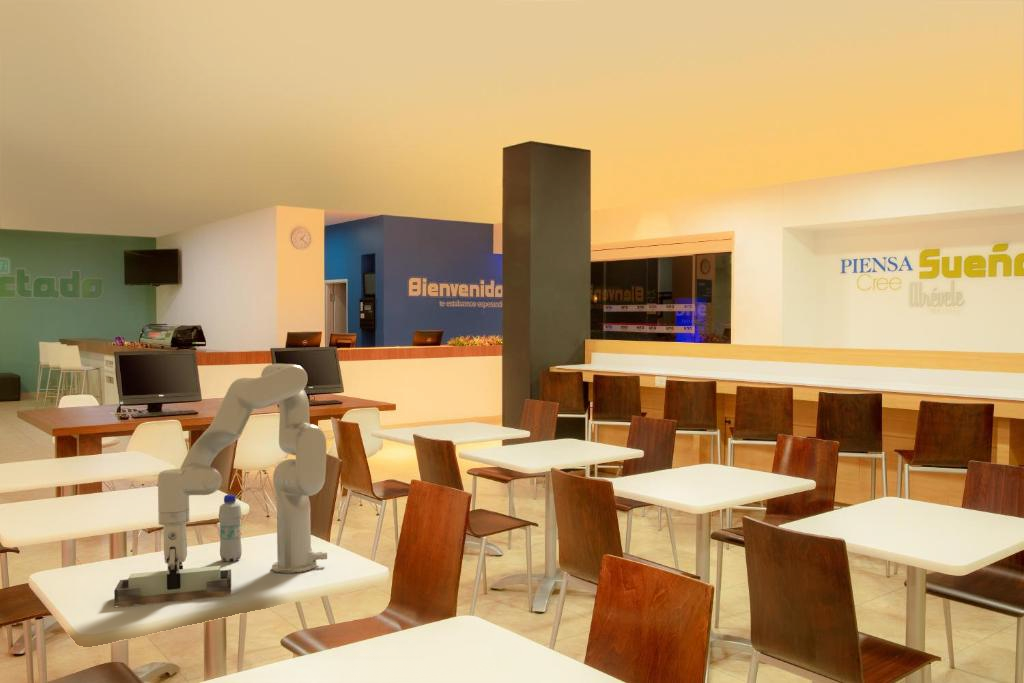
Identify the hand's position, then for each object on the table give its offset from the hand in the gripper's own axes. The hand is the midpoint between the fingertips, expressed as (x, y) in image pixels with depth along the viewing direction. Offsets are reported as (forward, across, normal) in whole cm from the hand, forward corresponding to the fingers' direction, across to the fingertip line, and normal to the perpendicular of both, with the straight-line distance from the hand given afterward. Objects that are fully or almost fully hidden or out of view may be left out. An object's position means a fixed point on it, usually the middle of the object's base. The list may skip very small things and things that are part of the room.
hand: (175, 584), depth 214 cm
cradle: (+3, 0, 0) cm, 3 cm away
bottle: (+3, +32, -13) cm, 35 cm away
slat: (+2, 0, 0) cm, 2 cm away
